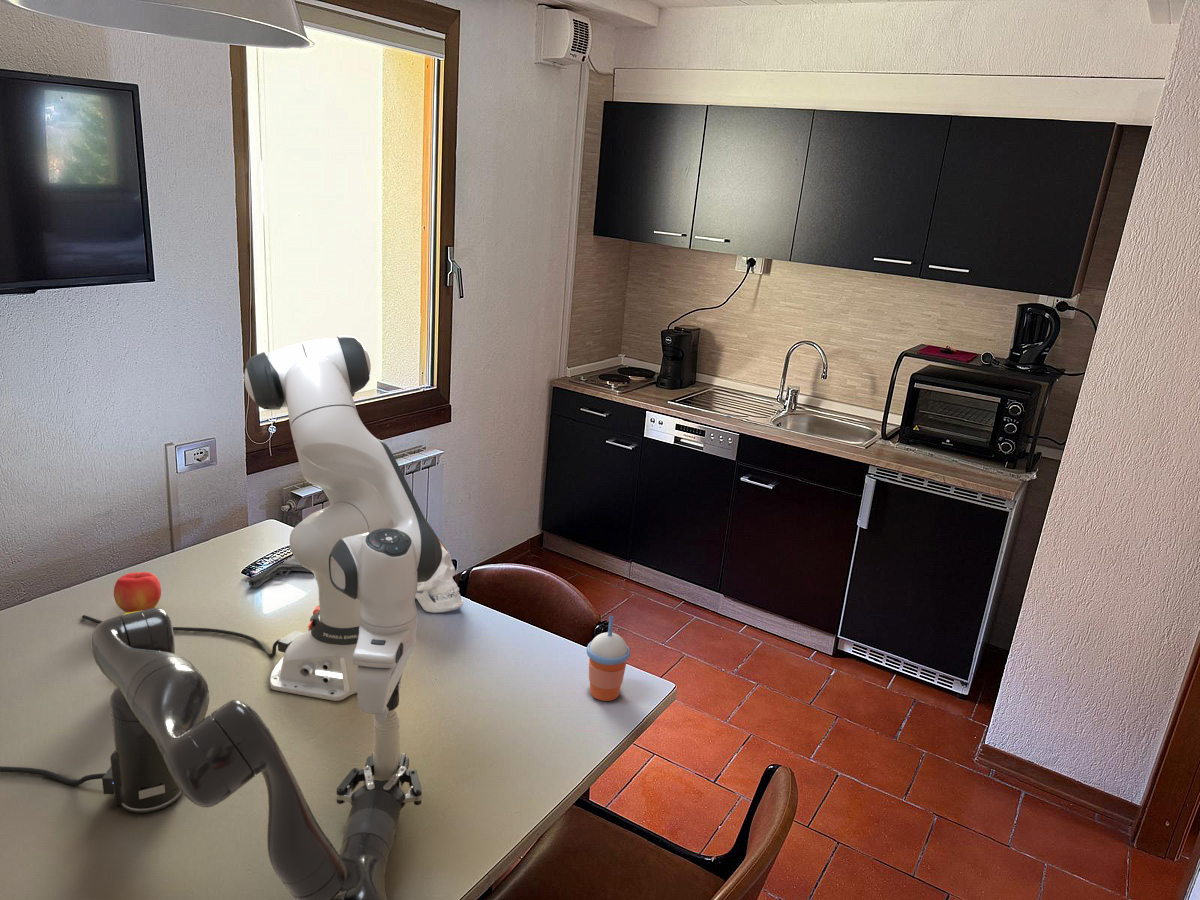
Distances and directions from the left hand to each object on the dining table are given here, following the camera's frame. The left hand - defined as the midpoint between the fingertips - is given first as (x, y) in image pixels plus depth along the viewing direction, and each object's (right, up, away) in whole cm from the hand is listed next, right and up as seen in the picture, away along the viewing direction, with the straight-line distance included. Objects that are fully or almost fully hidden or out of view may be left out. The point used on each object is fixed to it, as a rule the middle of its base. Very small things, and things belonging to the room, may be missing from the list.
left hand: (389, 757), depth 146 cm
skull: (-8, +15, +67) cm, 69 cm away
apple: (-70, +15, +50) cm, 87 cm away
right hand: (+1, +11, -6) cm, 13 cm away
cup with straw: (+37, +1, +34) cm, 50 cm away
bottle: (0, -7, -1) cm, 7 cm away
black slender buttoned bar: (-45, +20, +74) cm, 89 cm away
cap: (+1, +13, -7) cm, 15 cm away
